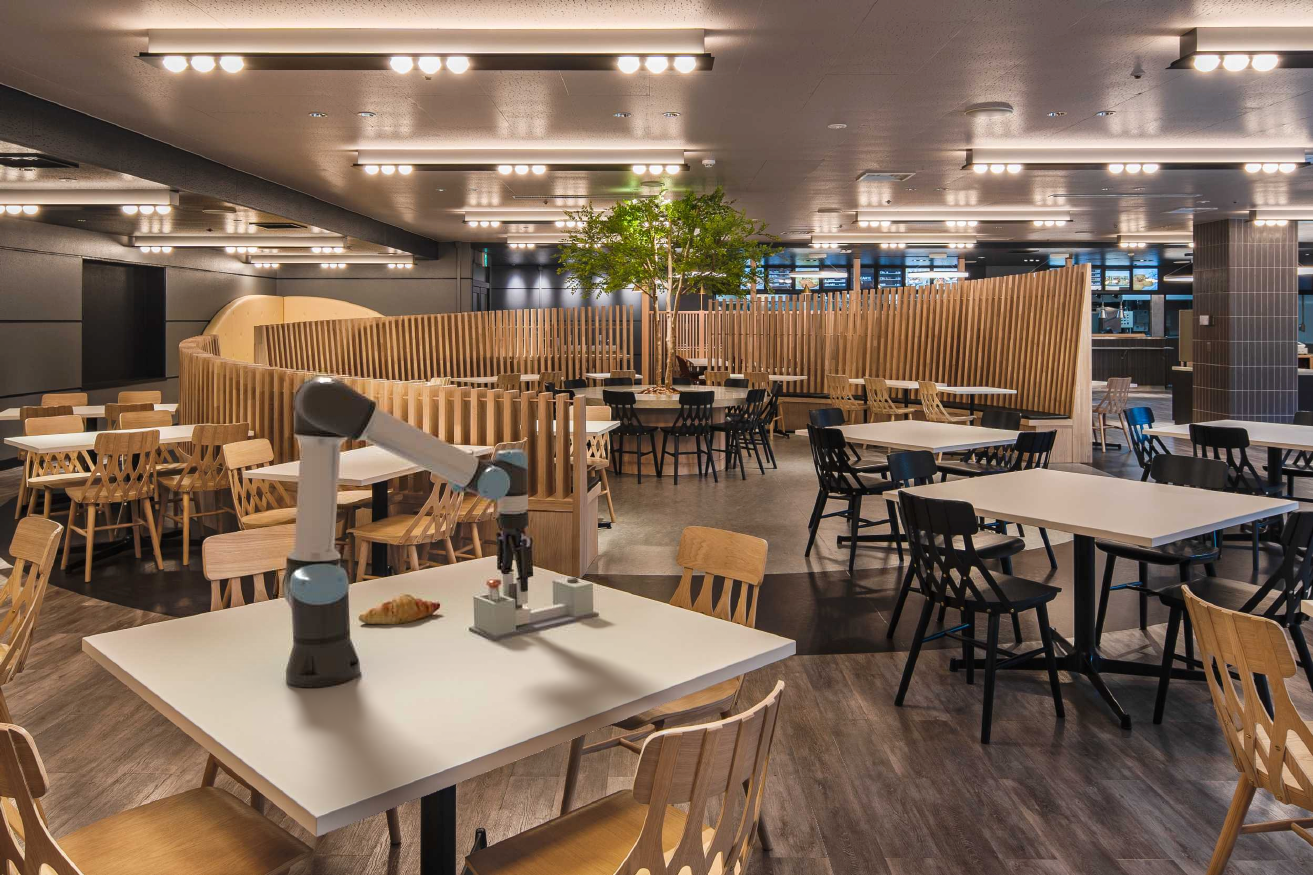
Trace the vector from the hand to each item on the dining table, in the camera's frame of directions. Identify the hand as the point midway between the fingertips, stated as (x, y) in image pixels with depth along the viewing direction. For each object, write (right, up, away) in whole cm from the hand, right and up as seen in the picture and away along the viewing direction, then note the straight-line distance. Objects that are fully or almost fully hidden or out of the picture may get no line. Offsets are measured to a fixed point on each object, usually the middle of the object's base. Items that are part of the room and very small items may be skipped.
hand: (515, 600), depth 232 cm
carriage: (0, -5, +1) cm, 6 cm away
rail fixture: (+4, -6, +4) cm, 9 cm away
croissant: (-32, -7, +9) cm, 34 cm away
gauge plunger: (-5, -3, -4) cm, 7 cm away
